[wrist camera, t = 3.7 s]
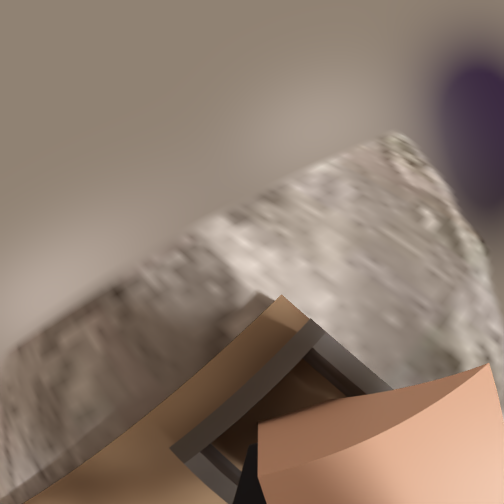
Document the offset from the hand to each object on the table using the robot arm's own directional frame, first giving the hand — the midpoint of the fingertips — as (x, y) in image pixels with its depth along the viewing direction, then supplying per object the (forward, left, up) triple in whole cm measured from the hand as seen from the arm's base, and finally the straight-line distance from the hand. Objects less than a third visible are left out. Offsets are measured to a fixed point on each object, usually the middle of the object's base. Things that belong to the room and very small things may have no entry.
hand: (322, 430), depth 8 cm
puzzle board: (-3, +16, -8) cm, 18 cm away
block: (-1, +1, -6) cm, 6 cm away
